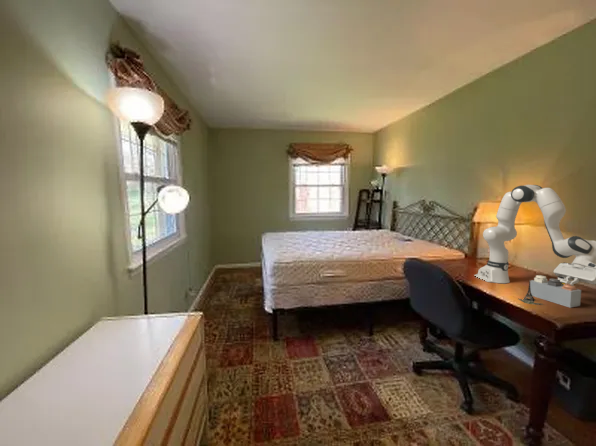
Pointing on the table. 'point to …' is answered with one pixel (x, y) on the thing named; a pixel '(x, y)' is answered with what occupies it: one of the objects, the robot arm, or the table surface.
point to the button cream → (540, 279)
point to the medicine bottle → (562, 280)
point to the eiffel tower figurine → (527, 300)
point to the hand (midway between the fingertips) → (568, 284)
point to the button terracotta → (569, 287)
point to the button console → (555, 294)
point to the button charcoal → (554, 282)
